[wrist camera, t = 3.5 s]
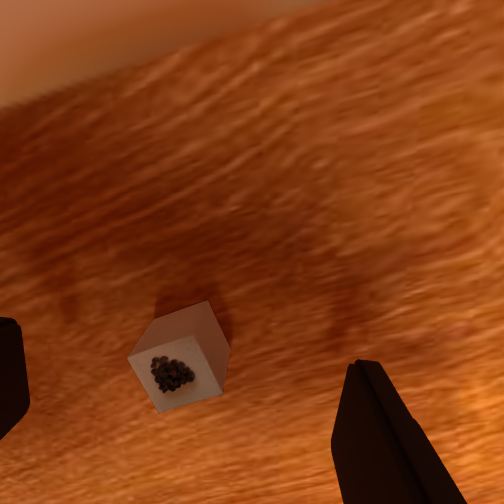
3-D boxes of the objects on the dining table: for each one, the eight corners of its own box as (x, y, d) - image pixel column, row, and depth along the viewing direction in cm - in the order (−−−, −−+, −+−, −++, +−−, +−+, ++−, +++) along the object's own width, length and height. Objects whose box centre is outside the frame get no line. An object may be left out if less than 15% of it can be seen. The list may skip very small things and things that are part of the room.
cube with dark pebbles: (179, 366, 11) (155, 420, 9) (153, 318, 11) (121, 362, 8) (231, 349, 11) (221, 400, 8) (208, 299, 10) (190, 338, 8)
